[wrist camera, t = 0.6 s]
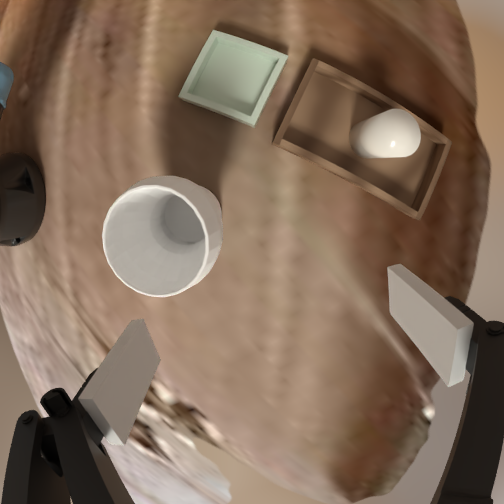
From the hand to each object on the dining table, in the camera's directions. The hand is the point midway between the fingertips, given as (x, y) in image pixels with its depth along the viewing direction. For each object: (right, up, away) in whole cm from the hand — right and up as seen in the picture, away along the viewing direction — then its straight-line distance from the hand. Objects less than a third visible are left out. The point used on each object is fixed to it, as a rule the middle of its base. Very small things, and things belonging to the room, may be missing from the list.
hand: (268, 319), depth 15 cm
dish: (-3, +25, +18) cm, 31 cm away
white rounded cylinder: (+13, +17, +19) cm, 29 cm away
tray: (+13, +17, +20) cm, 30 cm away
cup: (-8, +8, +23) cm, 26 cm away
